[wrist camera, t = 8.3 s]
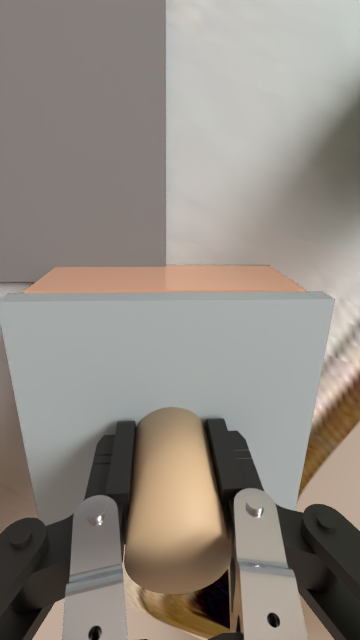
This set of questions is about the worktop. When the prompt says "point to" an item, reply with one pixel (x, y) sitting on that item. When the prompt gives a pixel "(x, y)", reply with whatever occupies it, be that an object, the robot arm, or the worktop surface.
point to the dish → (165, 279)
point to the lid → (165, 407)
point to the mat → (82, 135)
